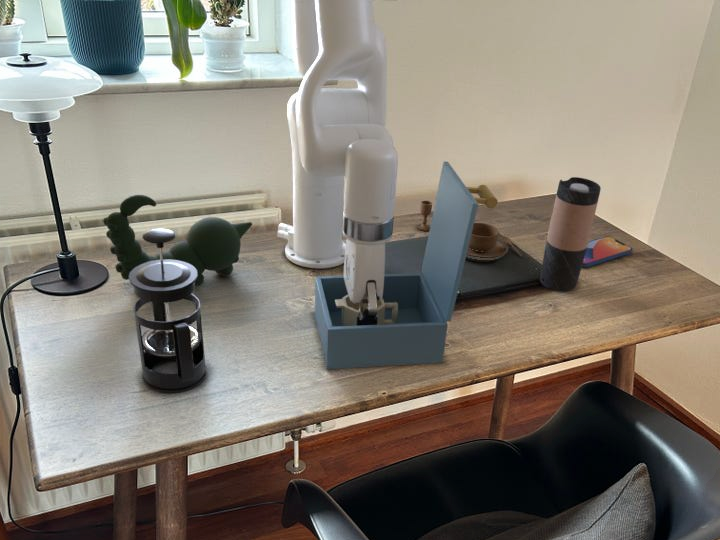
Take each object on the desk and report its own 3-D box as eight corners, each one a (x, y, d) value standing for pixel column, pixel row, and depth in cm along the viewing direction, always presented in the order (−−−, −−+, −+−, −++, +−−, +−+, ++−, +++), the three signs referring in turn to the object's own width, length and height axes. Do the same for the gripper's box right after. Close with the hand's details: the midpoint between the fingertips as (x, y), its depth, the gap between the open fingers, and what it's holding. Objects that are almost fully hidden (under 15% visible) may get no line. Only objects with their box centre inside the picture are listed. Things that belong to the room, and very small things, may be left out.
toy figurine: (136, 317, 125) (268, 273, 137) (110, 215, 113) (257, 177, 125) (117, 293, 131) (245, 252, 143) (91, 193, 120) (232, 158, 131)
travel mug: (577, 295, 140) (602, 195, 129) (537, 288, 141) (558, 189, 130) (577, 276, 147) (601, 180, 135) (539, 270, 148) (559, 174, 136)
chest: (326, 369, 114) (327, 329, 110) (314, 313, 127) (315, 276, 123) (442, 362, 118) (448, 324, 114) (419, 309, 131) (423, 273, 127)
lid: (473, 203, 103) (513, 206, 105) (443, 161, 116) (479, 164, 118) (445, 321, 114) (482, 322, 115) (421, 270, 127) (454, 272, 128)
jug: (337, 346, 118) (338, 313, 115) (331, 324, 123) (332, 292, 120) (399, 343, 120) (402, 310, 117) (391, 321, 126) (394, 290, 122)
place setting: (450, 268, 145) (454, 241, 142) (413, 226, 160) (415, 200, 157) (528, 260, 151) (533, 233, 148) (485, 220, 166) (489, 195, 163)
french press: (132, 364, 111) (110, 223, 98) (192, 348, 116) (179, 211, 103) (158, 407, 104) (138, 260, 91) (221, 388, 108) (211, 246, 95)
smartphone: (558, 254, 155) (559, 249, 154) (607, 239, 162) (608, 235, 161) (583, 269, 150) (584, 264, 149) (633, 253, 157) (634, 249, 156)
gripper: (335, 202, 117) (332, 300, 127) (352, 251, 103) (347, 357, 113) (381, 201, 119) (375, 298, 129) (404, 250, 105) (395, 354, 115)
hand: (362, 325), depth 121 cm, fingers closed on jug, 6 cm apart
